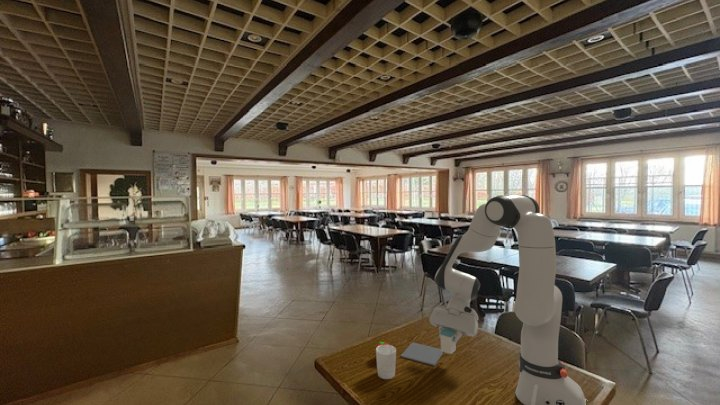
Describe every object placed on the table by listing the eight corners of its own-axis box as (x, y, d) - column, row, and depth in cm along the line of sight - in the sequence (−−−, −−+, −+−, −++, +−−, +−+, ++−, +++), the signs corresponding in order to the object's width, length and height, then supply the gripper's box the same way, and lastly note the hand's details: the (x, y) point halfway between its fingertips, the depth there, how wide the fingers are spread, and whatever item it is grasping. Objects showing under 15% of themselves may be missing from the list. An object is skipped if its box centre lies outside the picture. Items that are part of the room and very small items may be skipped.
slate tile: (443, 351, 141) (443, 349, 141) (434, 366, 129) (434, 364, 129) (412, 343, 148) (412, 342, 148) (400, 356, 136) (400, 355, 136)
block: (455, 350, 130) (455, 330, 130) (451, 354, 127) (450, 334, 127) (445, 346, 133) (445, 328, 133) (440, 350, 130) (440, 331, 130)
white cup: (372, 371, 125) (372, 347, 125) (389, 367, 129) (389, 343, 128) (382, 382, 118) (382, 356, 118) (400, 377, 121) (400, 351, 121)
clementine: (371, 357, 136) (371, 341, 136) (383, 352, 140) (383, 336, 140) (383, 365, 130) (383, 348, 130) (395, 360, 134) (395, 343, 134)
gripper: (433, 301, 142) (422, 329, 135) (478, 311, 128) (468, 343, 121) (438, 308, 145) (427, 336, 138) (482, 318, 131) (473, 350, 124)
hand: (447, 339), depth 129 cm, fingers closed on block, 4 cm apart
